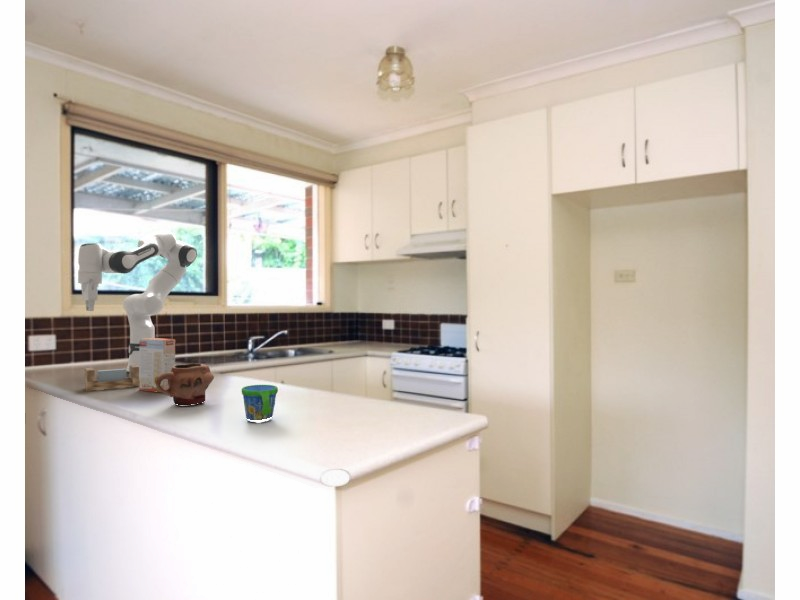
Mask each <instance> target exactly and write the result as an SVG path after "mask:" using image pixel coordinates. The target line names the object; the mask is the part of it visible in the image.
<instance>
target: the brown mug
mask: <svg viewBox="0 0 800 600" xmlns="http://www.w3.org/2000/svg"><path fill="white" fill-rule="evenodd" d="M164 379H168V385H169V389H168V390H164V389H162V388H161V386H160V384H161V381H162V380H164ZM214 379H215V375H214V374H213V373H212V372H211V369H210V367H209V366H208V365H207V364H204V363H188V364H178V365H177V364H175V366H173V367H172V369H171V372H169V373H164V374H161V375H160V376H159V377H158V378H157V380H156V386H157V388H158V389H159V390H160V391H161V392H163V393H162V394H164V395H166V396H168V397H170V398H173V399H172V400H173V404H174V403H175V404H178V405H191V404H197V403H202V402H204V401H205V402H206V391H207V389H208V388H209V385H210V384H212V382H213V380H214ZM205 402H204V403H205ZM175 404H174V405H175ZM202 404H203V403H202Z"/></svg>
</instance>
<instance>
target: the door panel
mask: <svg viewBox="0 0 800 600" xmlns="http://www.w3.org/2000/svg"><path fill="white" fill-rule="evenodd" d="M126 378H127V368H117V369H102V370H97V380H98V382H105V381H117V380H126Z"/></svg>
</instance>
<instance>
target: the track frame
mask: <svg viewBox="0 0 800 600" xmlns="http://www.w3.org/2000/svg"><path fill="white" fill-rule="evenodd" d="M134 386H139V366H137V365H130V372H129V377H126V380H117V381H105V382H98V379H97V380H96V379H95V369H94V367H85V369H84V389H85V388H86V389H85V390H86V392H92V391H91V390H96V391H103V390H104V389H107V390H115V389H114V388H118V389H125V388H124V387H129V388H135V387H134Z"/></svg>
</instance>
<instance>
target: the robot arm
mask: <svg viewBox="0 0 800 600" xmlns="http://www.w3.org/2000/svg"><path fill="white" fill-rule="evenodd" d="M78 250H79V251H78V258H77V259H78V267H79V268H78V273H77V274H78V275H77V283H78V284H80V286H81V297H82V299H83V301H85V308H86V309H85V310H86V311H87V312H88V311H89V312H94V310H95V301H98V295H99V294H98V293H99V292H98V288H99V286H100V284H103V273H105V274H129V273H131V272H133V270H134V269H135V268H136V267H137V266H138V265H139V264H140V263H144V262H145V261H147V260H149V259H150V258H151V259H152V258H155V257H158V256H160V257H161V258H163V259H167V262H166V264H165V265H164V266H163V267H161V268H160V269H159V270H158V271H157V272H156V274H155V275H154V276H153V277H152V278H151V279H150V280H149V282H148V286H147V287H146V289H145V291H144V292H142V293H134V294H131V295H128V296H127V297H125V298H124V300H123V305H122V306H123V309H124V310H125V312H126V316H127V319H128V324H129V343H128V354H129V357H128V364H127V367H126V369H127V372H128V373H130V365H137V366H139V347H140V339H143V338H156V336H155V333H156V331H155V330H156V329H155V328H156V327H155V325H154V324H153V322H152V319H151V316H154V315H157V314H160V313H161V311H162V310H163V308H164V302H165V300H166V298H167V297H168V295H169V294H170V293H171V291H172V290H173V289H174V288H175V287H176V286H177V285H178V284H179V283H180V281H181V280H182V278H183V277H184V276H185V274H186V272H187V268H188V267H189V266H190V265H191V264H193V263H194V262H195V260H196V259H197V256H198V251H197V249H196V248H195V246H193V245H192V244H190V243H186V242H183V241H181V240H177V239H176V236H175V234H174V233H173V232H171V231H170V230H161V231H155V232H152V233H150V234H147V235H145V236H143V237H142V238H140V239H139V240H138V241H137V248H135V249H133V250H131V251H127V250H121V251H110V250H108V249H106V248H105V247H103V246H102V245H101V243H98V242H93V243H92V242H91V243H83V244H81V245H80V247H79V249H78ZM127 372H126V373H127Z"/></svg>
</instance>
